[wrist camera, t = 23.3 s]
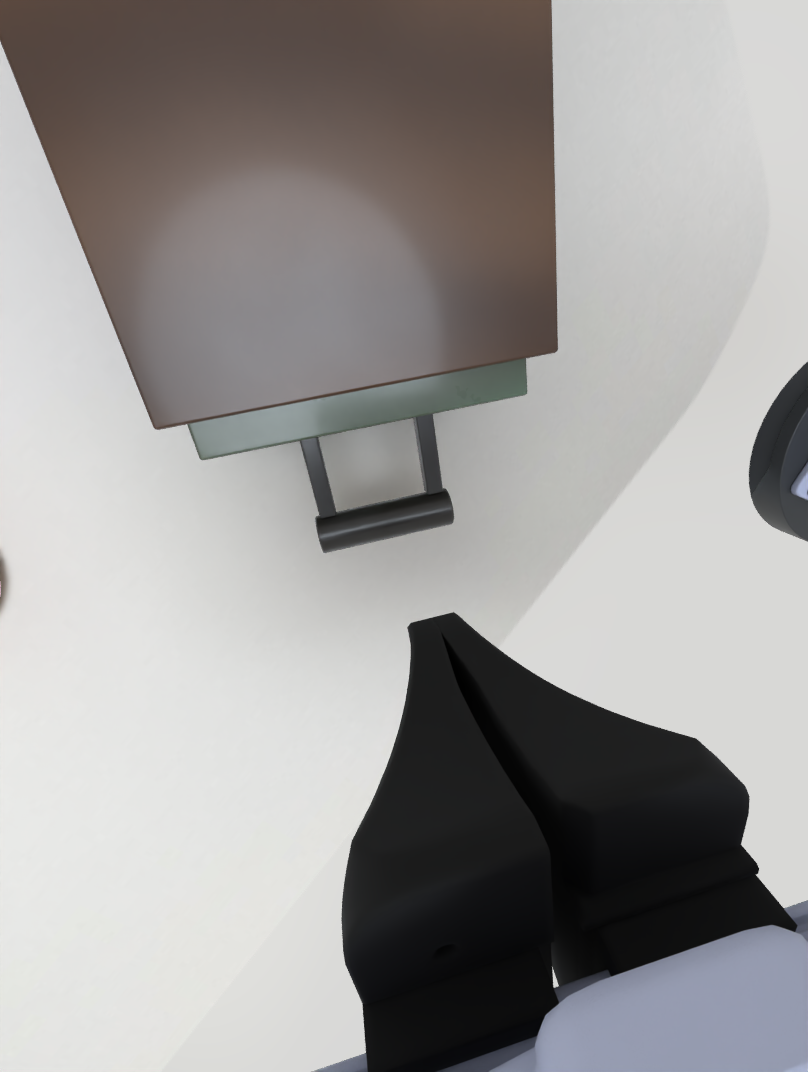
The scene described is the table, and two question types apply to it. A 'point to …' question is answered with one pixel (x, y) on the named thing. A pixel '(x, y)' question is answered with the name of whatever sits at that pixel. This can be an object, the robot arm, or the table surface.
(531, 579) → the table surface
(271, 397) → the cabinet
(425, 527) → the drawer
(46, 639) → the table surface
